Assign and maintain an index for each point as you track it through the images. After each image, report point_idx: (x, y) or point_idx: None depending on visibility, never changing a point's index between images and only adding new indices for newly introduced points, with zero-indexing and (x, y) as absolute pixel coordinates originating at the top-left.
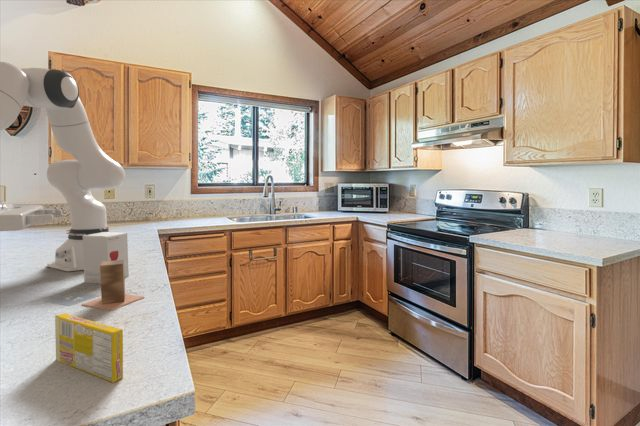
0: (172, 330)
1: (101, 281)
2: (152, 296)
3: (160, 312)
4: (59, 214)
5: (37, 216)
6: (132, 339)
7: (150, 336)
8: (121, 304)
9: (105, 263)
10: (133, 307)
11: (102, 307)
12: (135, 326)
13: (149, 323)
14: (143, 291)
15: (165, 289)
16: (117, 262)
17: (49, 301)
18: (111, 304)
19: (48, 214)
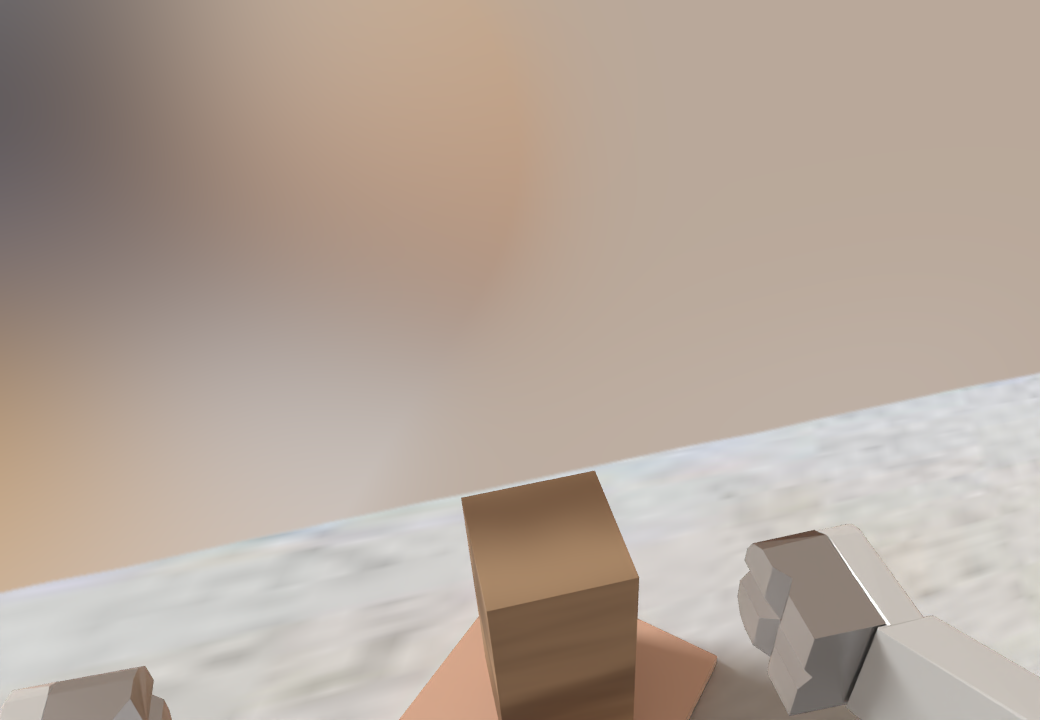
0: (920, 406)
1: (633, 647)
2: None
3: (731, 471)
4: (164, 717)
5: (1014, 676)
6: (1031, 494)
7: (988, 451)
8: (640, 633)
9: (565, 567)
10: (654, 585)
11: (685, 716)
12: (902, 516)
13: (862, 480)
14: (370, 608)
15: (372, 516)
16: (545, 508)
17: None
18: (635, 684)
19: (815, 574)
